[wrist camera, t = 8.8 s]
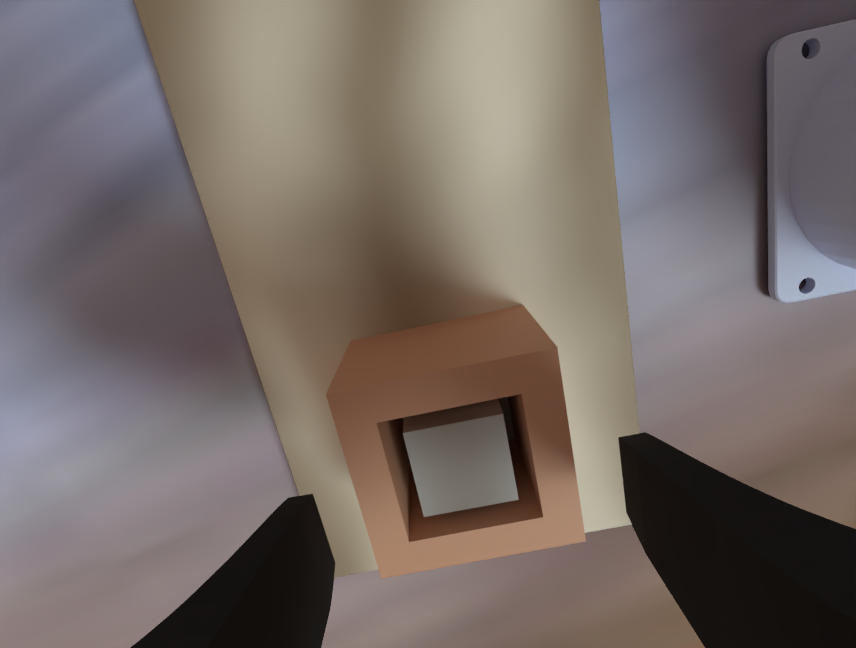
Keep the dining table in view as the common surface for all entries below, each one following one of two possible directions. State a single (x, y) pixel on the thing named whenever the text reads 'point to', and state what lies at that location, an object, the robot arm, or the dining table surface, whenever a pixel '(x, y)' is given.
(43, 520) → the dining table surface
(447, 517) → the collar
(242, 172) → the board
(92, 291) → the dining table surface
